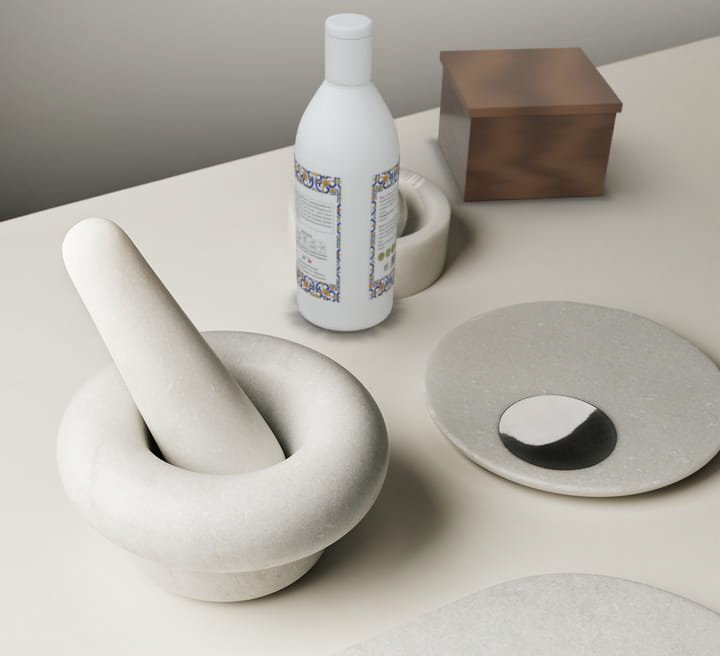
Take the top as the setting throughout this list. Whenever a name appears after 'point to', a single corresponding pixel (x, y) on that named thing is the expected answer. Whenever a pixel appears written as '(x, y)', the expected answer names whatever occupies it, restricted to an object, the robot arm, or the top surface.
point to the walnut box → (525, 123)
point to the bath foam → (346, 188)
